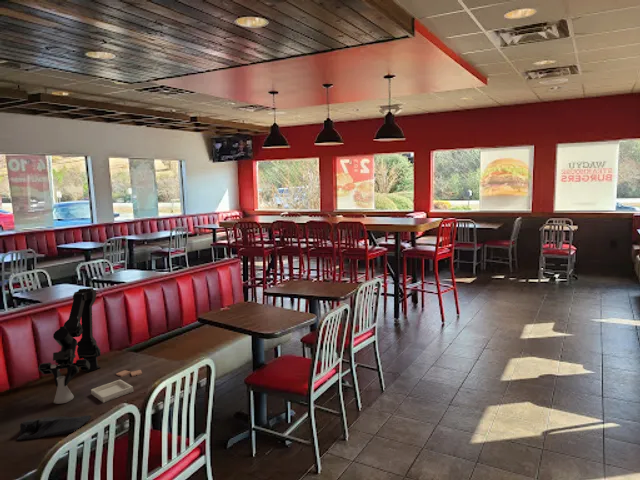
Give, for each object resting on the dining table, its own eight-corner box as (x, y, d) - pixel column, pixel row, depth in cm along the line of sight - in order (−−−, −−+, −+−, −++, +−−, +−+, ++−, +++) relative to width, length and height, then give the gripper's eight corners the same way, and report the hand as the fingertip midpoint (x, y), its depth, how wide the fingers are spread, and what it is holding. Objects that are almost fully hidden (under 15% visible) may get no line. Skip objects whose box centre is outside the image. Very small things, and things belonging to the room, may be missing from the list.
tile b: (130, 374, 221) (130, 372, 221) (140, 372, 223) (140, 369, 223) (132, 377, 217) (131, 375, 217) (142, 375, 219) (142, 372, 219)
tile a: (116, 375, 220) (116, 373, 220) (125, 372, 224) (124, 370, 224) (121, 377, 218) (121, 375, 218) (130, 374, 221) (130, 371, 221)
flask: (77, 396, 199) (74, 373, 198) (66, 404, 192) (63, 381, 191) (61, 396, 200) (58, 374, 199) (50, 404, 193) (46, 381, 192)
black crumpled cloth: (75, 438, 166) (73, 425, 165) (12, 442, 165) (10, 430, 165) (94, 416, 181) (93, 405, 181) (36, 420, 181) (35, 409, 180)
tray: (91, 394, 200) (90, 389, 200) (120, 384, 209) (120, 379, 209) (103, 402, 192) (102, 397, 191) (133, 391, 201) (133, 386, 200)
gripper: (37, 345, 196) (28, 381, 187) (84, 340, 199) (78, 375, 189) (47, 356, 205) (39, 391, 196) (93, 351, 208) (87, 386, 198)
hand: (61, 386), depth 194 cm, fingers closed on flask, 3 cm apart
